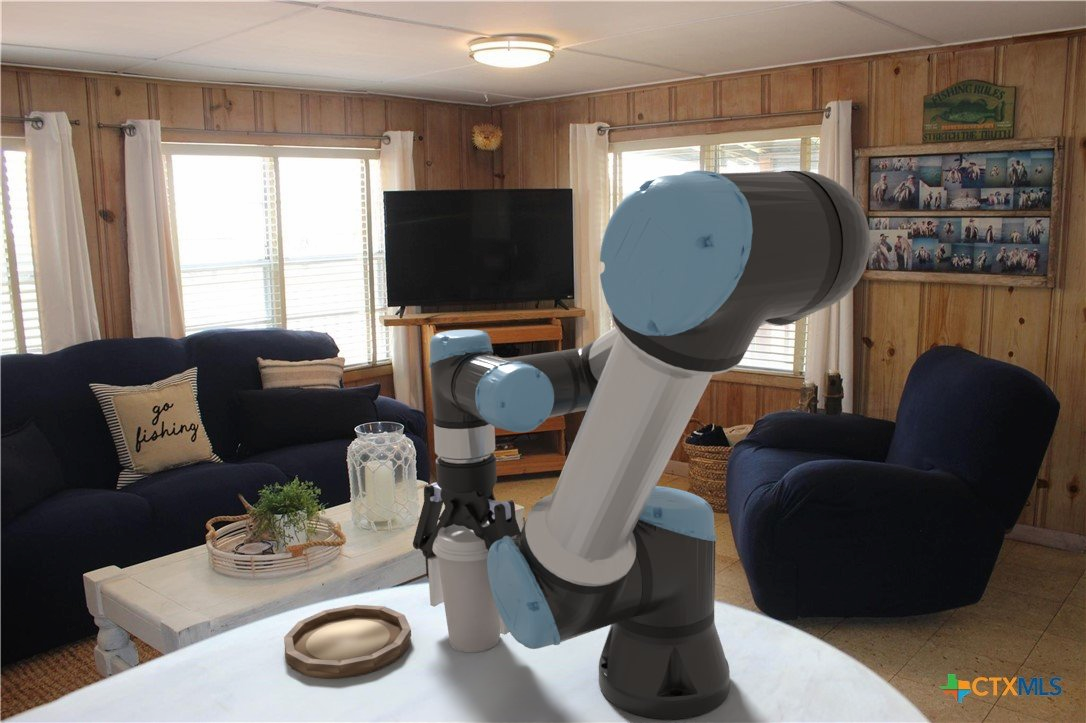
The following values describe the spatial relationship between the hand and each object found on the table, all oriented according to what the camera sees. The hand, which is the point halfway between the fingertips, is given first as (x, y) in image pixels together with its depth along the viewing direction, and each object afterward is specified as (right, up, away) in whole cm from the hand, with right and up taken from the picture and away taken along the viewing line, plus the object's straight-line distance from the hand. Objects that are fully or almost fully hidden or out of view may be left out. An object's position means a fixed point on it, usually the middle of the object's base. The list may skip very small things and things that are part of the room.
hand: (473, 615), depth 116 cm
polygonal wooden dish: (-16, -4, 0) cm, 17 cm away
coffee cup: (0, -4, +1) cm, 4 cm away
